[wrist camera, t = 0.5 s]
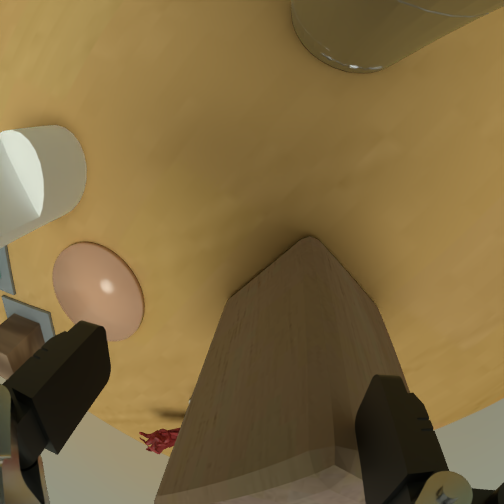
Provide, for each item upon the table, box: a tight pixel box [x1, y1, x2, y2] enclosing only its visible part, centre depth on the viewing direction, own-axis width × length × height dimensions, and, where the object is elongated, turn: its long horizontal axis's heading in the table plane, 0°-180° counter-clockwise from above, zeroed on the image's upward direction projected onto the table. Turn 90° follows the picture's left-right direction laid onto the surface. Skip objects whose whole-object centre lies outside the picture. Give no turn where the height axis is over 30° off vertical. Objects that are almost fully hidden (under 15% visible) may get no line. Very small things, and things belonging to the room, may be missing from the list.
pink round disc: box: [53, 242, 144, 341], centre depth 30 cm, size 11×11×1 cm
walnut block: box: [0, 313, 45, 380], centre depth 30 cm, size 5×5×7 cm
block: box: [154, 236, 410, 504], centre depth 18 cm, size 10×10×20 cm
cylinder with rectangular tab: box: [0, 125, 87, 248], centre depth 20 cm, size 9×9×12 cm
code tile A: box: [2, 295, 55, 343], centre depth 34 cm, size 9×9×1 cm
